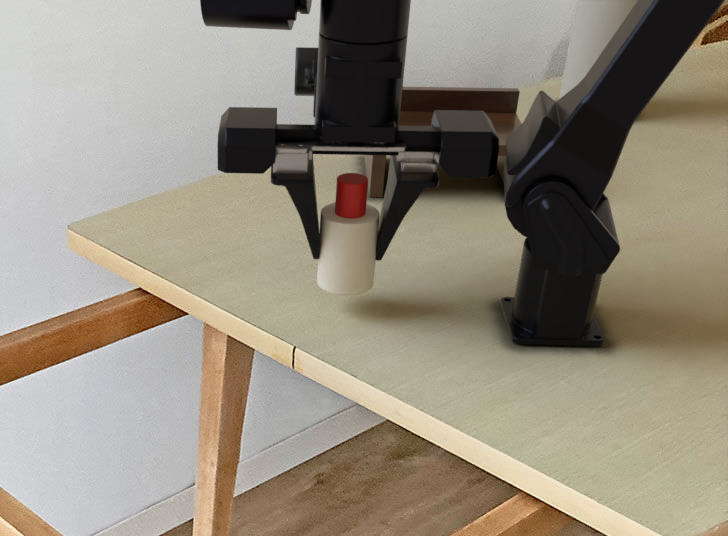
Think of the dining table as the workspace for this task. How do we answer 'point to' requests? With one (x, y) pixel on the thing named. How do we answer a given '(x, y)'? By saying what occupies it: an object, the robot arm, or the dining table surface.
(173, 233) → the dining table surface
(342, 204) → the seasoning bottle
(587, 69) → the travel mug
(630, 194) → the dining table surface
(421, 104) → the spice rack
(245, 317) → the dining table surface
